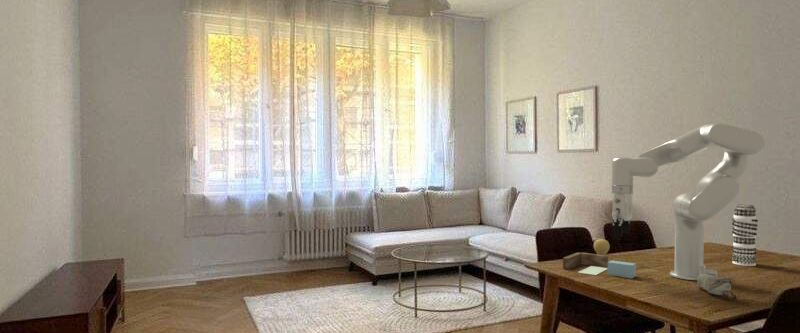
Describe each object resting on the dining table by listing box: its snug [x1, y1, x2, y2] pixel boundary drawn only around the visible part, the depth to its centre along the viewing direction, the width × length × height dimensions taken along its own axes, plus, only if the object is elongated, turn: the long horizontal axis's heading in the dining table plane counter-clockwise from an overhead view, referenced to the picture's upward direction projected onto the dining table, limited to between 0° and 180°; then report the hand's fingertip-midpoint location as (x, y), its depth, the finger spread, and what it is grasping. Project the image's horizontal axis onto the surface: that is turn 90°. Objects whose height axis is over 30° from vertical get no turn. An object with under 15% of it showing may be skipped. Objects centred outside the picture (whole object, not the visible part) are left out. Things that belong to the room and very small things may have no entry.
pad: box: [577, 265, 608, 276], centre depth 203 cm, size 7×15×1 cm, turn 140°
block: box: [607, 259, 637, 279], centre depth 195 cm, size 9×4×5 cm, turn 49°
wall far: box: [562, 251, 582, 270], centre depth 211 cm, size 2×16×4 cm, turn 139°
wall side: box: [578, 251, 609, 268], centre depth 213 cm, size 12×2×4 cm, turn 50°
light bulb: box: [593, 238, 611, 256], centre depth 218 cm, size 6×6×10 cm
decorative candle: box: [731, 203, 759, 267], centre depth 215 cm, size 9×9×25 cm
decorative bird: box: [696, 274, 738, 302], centre depth 168 cm, size 5×16×7 cm, turn 3°
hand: (621, 234), depth 195 cm, fingers open, 9 cm apart
